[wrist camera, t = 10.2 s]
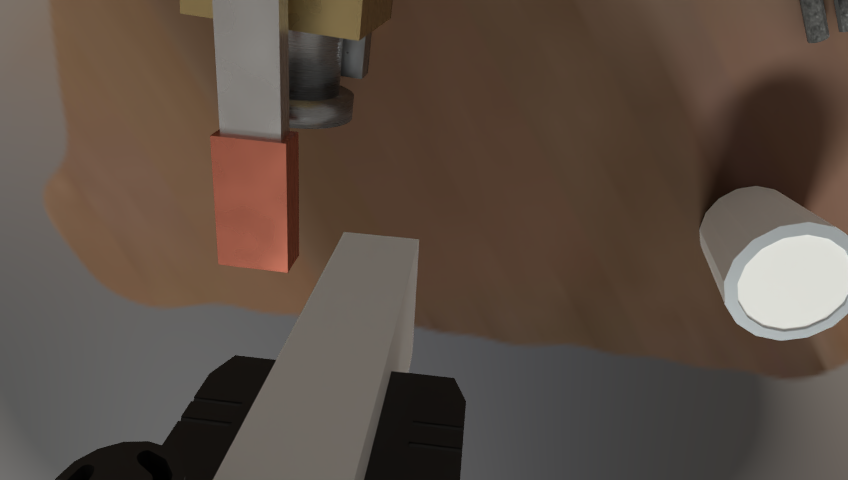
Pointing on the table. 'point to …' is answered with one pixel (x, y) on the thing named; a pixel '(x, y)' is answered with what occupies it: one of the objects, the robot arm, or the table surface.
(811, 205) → the table surface
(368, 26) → the pipe valve
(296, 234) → the lever
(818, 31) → the valve
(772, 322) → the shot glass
